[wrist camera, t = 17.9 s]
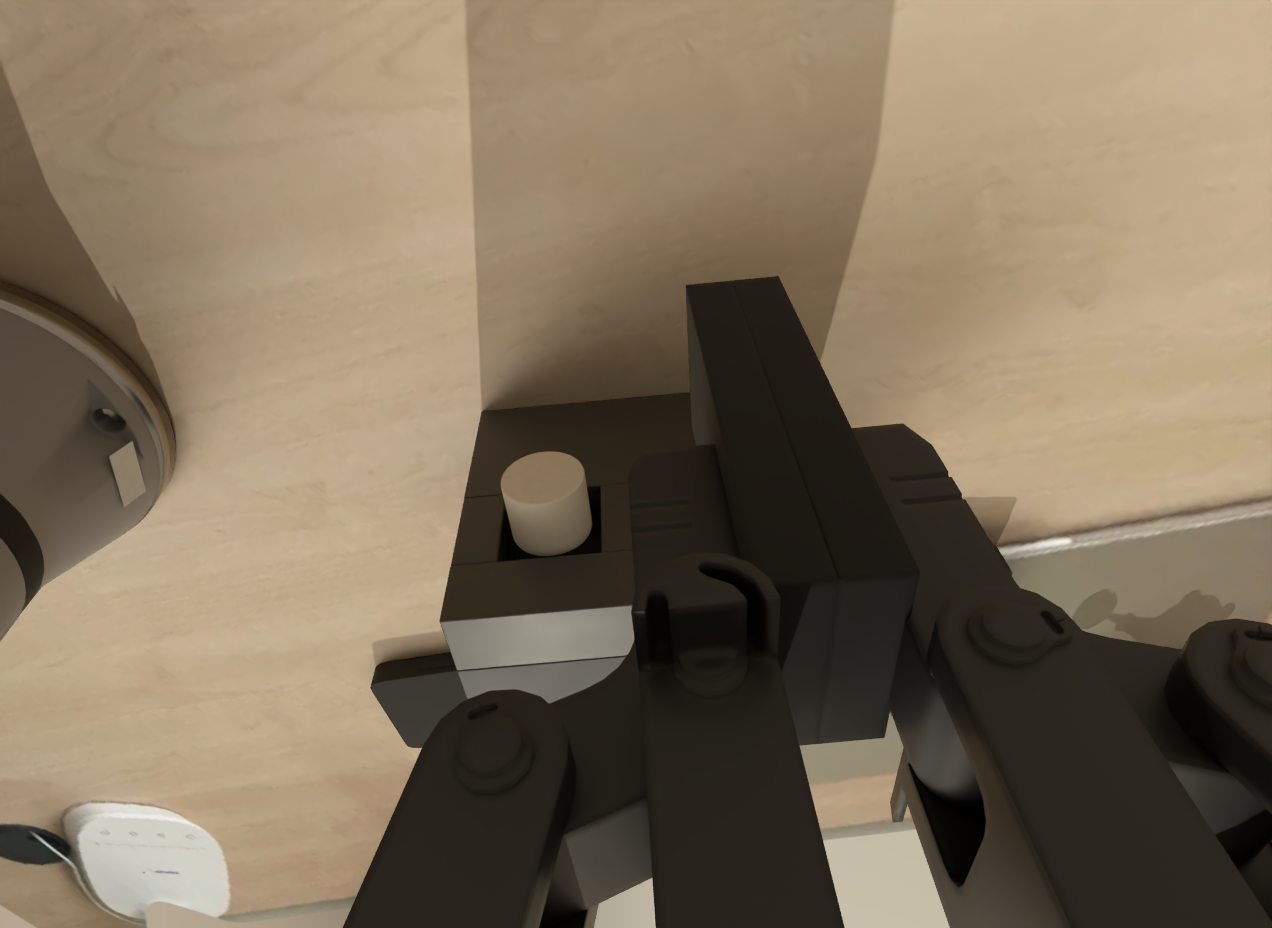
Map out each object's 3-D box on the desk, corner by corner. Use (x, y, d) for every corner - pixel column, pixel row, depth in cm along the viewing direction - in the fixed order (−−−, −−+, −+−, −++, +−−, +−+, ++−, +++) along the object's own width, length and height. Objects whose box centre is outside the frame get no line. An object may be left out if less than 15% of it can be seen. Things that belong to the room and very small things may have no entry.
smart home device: (682, 714, 53) (409, 752, 55) (680, 693, 55) (414, 731, 56) (666, 640, 48) (365, 684, 50) (664, 619, 50) (371, 663, 51)
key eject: (504, 454, 32) (496, 507, 29) (584, 447, 32) (584, 499, 29) (516, 506, 34) (509, 560, 31) (592, 499, 34) (592, 553, 31)
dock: (481, 411, 39) (438, 621, 28) (789, 383, 39) (869, 583, 28) (509, 524, 44) (482, 741, 33) (782, 500, 44) (848, 709, 33)
